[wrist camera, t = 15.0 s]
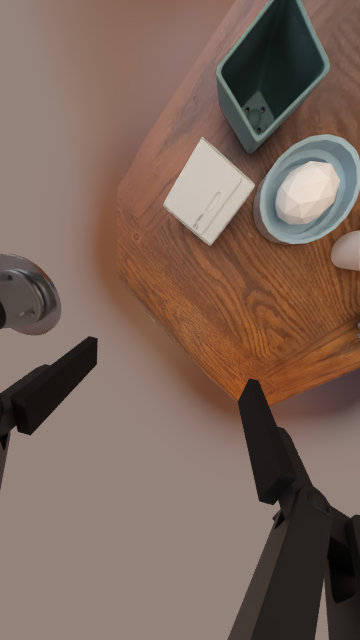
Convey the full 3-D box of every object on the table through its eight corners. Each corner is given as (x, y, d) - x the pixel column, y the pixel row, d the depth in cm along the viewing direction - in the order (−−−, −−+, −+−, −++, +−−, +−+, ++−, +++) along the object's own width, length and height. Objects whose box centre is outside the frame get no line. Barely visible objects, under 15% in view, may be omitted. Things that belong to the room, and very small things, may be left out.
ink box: (204, 173, 30) (202, 132, 20) (241, 206, 31) (258, 184, 21) (175, 218, 34) (160, 205, 23) (209, 247, 35) (210, 247, 24)
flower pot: (243, 172, 30) (257, 143, 21) (211, 122, 28) (213, 69, 20) (294, 123, 27) (333, 66, 18) (262, 63, 25) (289, -29, 17)
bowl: (244, 177, 30) (251, 164, 25) (333, 135, 27) (360, 112, 22) (260, 255, 34) (269, 256, 29) (339, 227, 31) (363, 223, 26)
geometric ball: (280, 195, 32) (297, 141, 24) (329, 205, 29) (365, 148, 22) (261, 228, 31) (272, 183, 24) (309, 242, 28) (340, 196, 21)
